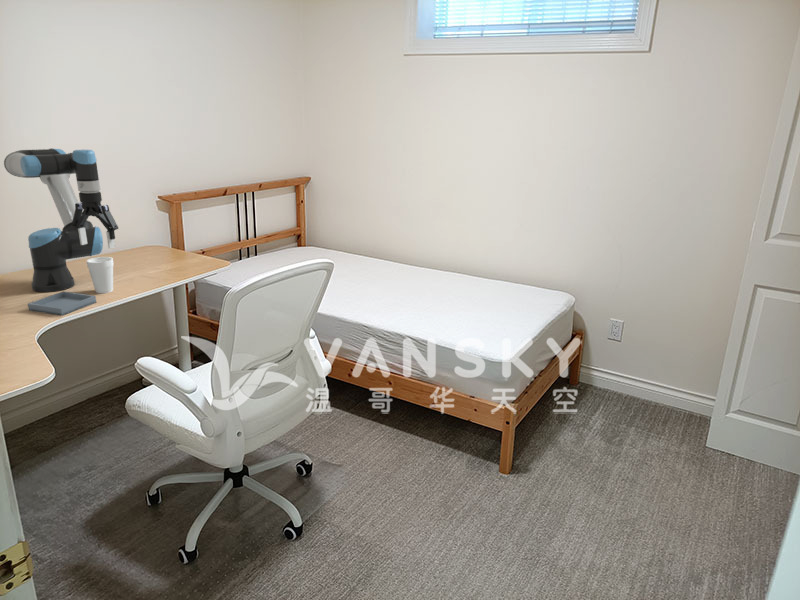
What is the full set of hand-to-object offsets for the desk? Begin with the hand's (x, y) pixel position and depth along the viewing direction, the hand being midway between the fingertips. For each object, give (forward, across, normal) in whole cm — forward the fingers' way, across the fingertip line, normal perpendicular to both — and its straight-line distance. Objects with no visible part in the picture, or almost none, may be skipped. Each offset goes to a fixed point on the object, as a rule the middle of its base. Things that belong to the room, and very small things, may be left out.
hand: (97, 245), depth 229 cm
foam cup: (+19, 0, 0) cm, 19 cm away
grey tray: (+19, 0, -20) cm, 27 cm away
